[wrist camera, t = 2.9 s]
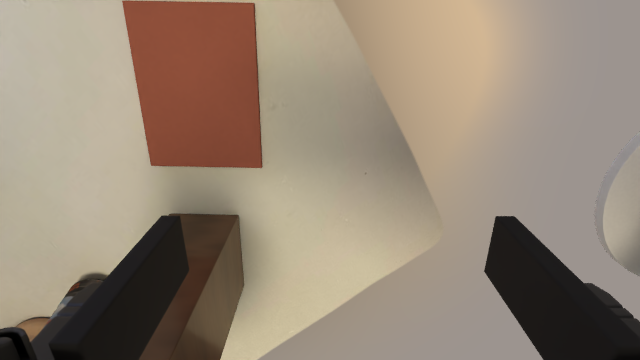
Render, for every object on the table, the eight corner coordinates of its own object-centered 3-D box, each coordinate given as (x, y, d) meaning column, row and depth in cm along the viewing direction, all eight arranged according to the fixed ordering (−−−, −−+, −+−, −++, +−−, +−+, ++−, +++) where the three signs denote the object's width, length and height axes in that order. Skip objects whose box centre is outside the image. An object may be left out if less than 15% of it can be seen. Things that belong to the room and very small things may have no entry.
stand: (238, 214, 41) (77, 554, 14) (244, 285, 45) (124, 657, 18) (169, 213, 41) (-121, 549, 14) (181, 283, 45) (-32, 652, 18)
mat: (254, 3, 33) (253, 3, 32) (262, 166, 39) (261, 168, 38) (124, 0, 33) (122, 0, 32) (152, 164, 39) (150, 165, 39)
